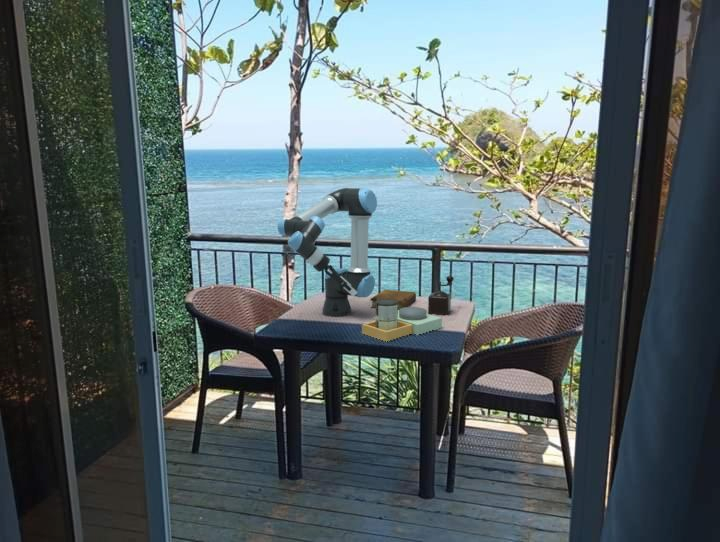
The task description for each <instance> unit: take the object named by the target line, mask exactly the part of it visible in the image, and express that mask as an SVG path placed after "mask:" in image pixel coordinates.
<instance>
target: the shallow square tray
mask: <svg viewBox="0 0 720 542" xmlns="http://www.w3.org/2000/svg"><path fill="white" fill-rule="evenodd" d="M361 334H362V335H364V334H365V336H367V335H368V337H370V336H371V337H370V338H373V337H374V339H376V338H377V340H379V339H380V340H379V341H382V340H383V341H382V342H385V341H386V343H388V342H391V341H390V340H392V341H394V340H393V339H395V340H397V339H396V338H398V339H400V338H399V337H402V336H405V337H407V336H406V335H408V336H410V335H409V334H412V325H411V324H408V323H404V322H401V321H398V328H396V329H392V330H389V331H385V330H382V329H379V328H376V320H372V321H369V322H366V323H362V324H361ZM412 335H413V334H412ZM402 338H403V337H402ZM387 341H388V342H387Z"/></svg>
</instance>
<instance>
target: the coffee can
mask: <svg viewBox="0 0 720 542" xmlns="http://www.w3.org/2000/svg"><path fill="white" fill-rule="evenodd" d="M375 302H376V309H375V321H376V328H379V329H382V330H385V331H389V330H392V329H396V328H398V312H399V311H398V300H396V299H389V298H385V299H378V300H376V301H375Z"/></svg>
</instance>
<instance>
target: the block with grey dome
mask: <svg viewBox="0 0 720 542" xmlns="http://www.w3.org/2000/svg"><path fill="white" fill-rule="evenodd" d="M398 321H401V322H404V323H408V324H411V325H412V333H413V334H412V335H414V334H416V335H415V336H420V335H419V334H421V335H424V334H427V333H430V332H429V331H431V332H433V331H432V330H434V331H436V329H437V330H440V329H442V328H443V318H442V317H440V316H438V315H432V314H428V313H427V309H426V308H423V307H420V306H409V307H405V308H401V309H400V310H399V311H398ZM439 328H440V329H439ZM426 332H427V333H426ZM423 333H424V334H423Z"/></svg>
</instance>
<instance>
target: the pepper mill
mask: <svg viewBox="0 0 720 542" xmlns="http://www.w3.org/2000/svg"><path fill="white" fill-rule="evenodd" d="M445 279H446V281H447V283H445V284H442V281H438V291H436V292H431V294H430V295H429V296H428V298H427V299H428V304H427V305H428V307H427V308H428V309H427V314H429V315H432V314H436V315H435V316H445V315H448V314H449V313H451V312H452V309H451V307H452V306H451V305H452V304H451V303H452V294H451V293H449V292H448V293H447V292H446V291H444V290H442V289H441V287H450V286H452V285H453V281H454V280H455V278H454V276H452V275H451V276H450V275H448V276H446V278H445ZM449 315H450V314H449ZM449 315H448V316H449Z"/></svg>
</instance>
